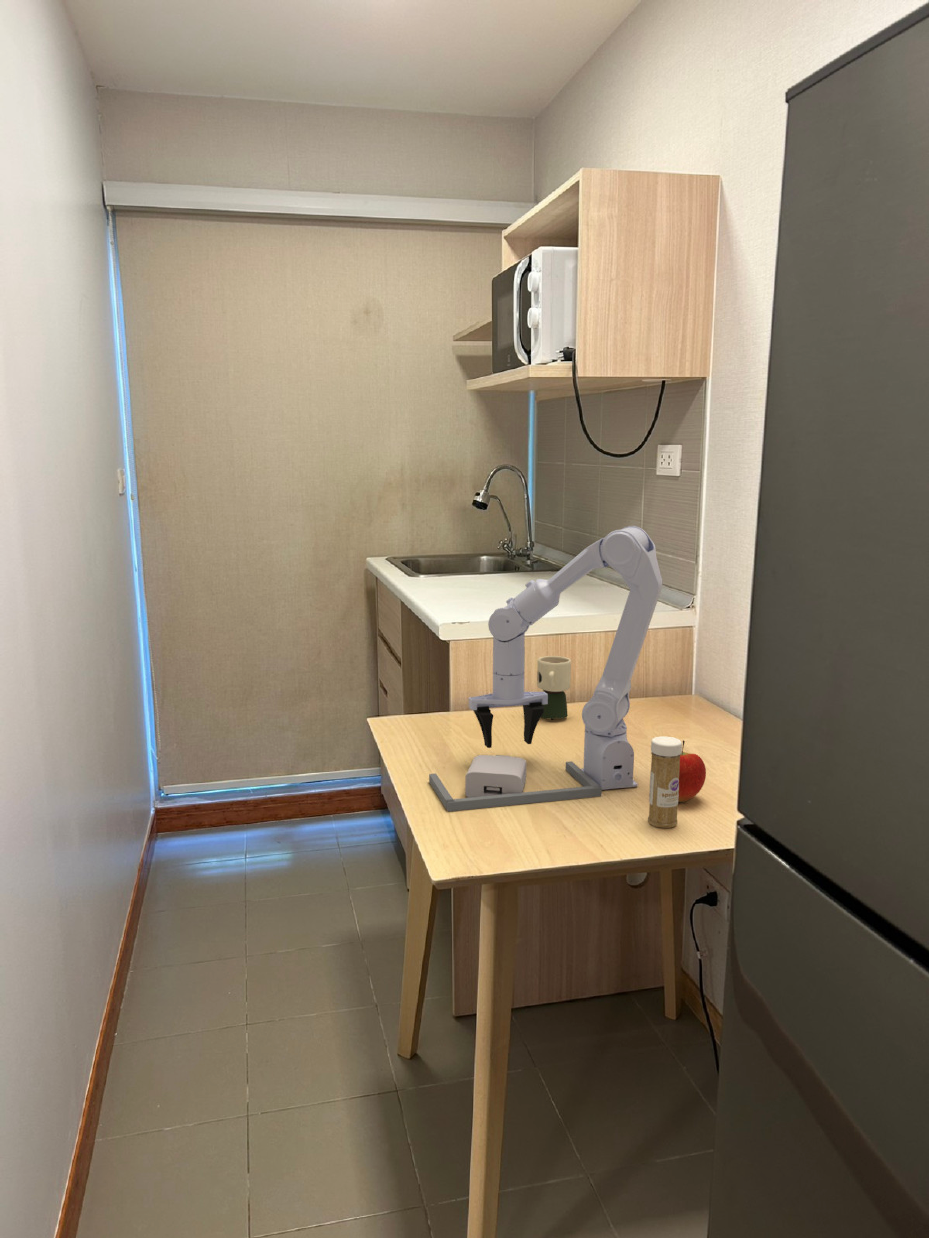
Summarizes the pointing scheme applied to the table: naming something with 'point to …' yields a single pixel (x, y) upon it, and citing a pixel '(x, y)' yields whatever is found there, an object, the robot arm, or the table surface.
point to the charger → (495, 776)
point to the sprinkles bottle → (664, 781)
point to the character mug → (554, 684)
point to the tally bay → (586, 791)
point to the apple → (690, 775)
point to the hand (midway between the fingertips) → (508, 744)
